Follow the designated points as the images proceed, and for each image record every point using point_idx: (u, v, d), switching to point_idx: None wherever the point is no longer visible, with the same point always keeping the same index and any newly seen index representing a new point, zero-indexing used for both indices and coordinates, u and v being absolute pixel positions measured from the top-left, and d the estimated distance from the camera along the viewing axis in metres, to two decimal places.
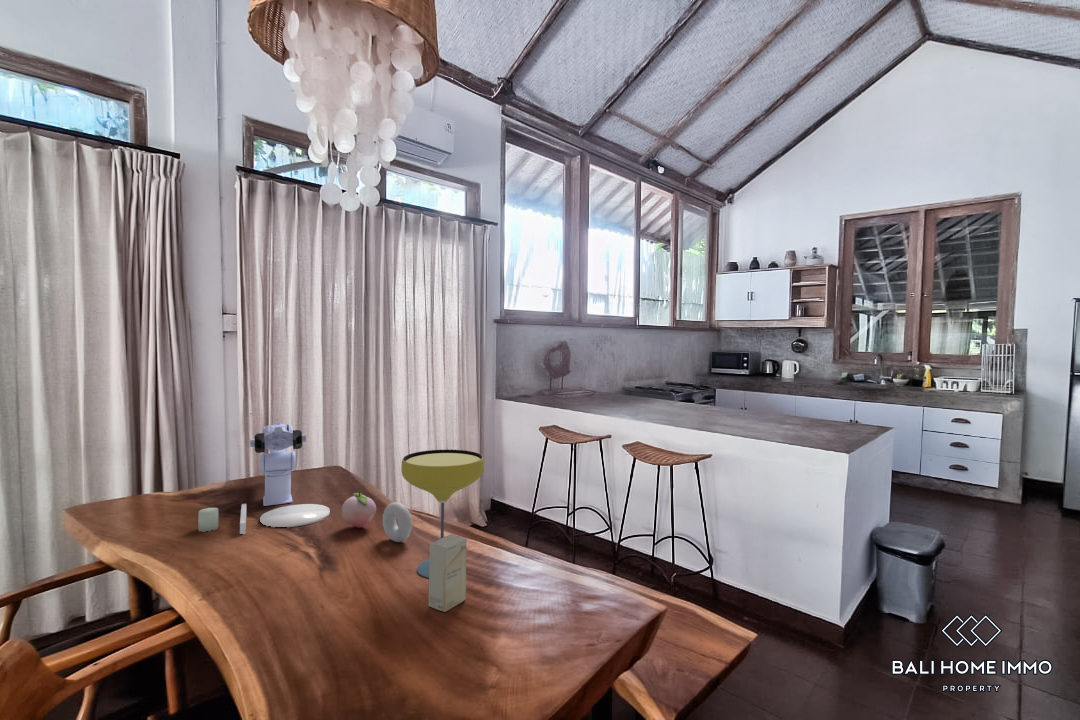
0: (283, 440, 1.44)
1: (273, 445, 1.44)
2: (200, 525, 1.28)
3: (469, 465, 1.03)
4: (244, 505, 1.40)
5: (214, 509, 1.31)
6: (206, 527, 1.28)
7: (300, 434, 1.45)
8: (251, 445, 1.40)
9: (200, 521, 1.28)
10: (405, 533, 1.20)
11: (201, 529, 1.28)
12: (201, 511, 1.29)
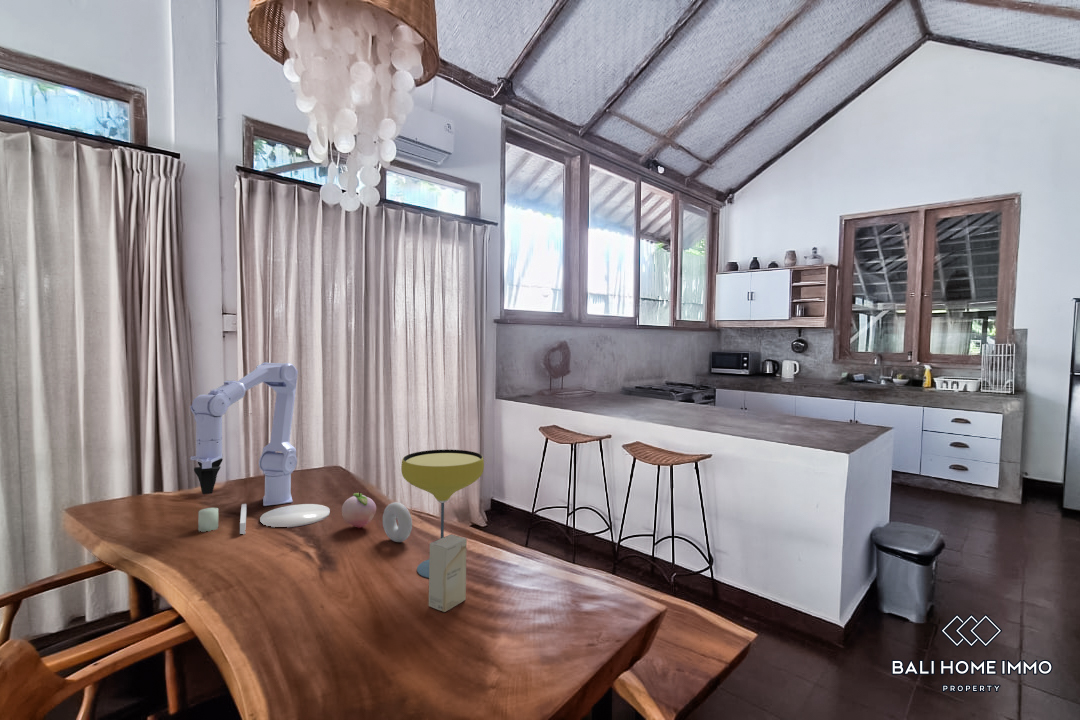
0: None
1: None
2: (200, 525, 1.28)
3: (469, 465, 1.03)
4: (244, 505, 1.40)
5: (214, 509, 1.31)
6: (206, 527, 1.28)
7: (199, 473, 1.24)
8: None
9: (200, 521, 1.28)
10: (405, 533, 1.20)
11: (201, 529, 1.28)
12: (201, 511, 1.29)
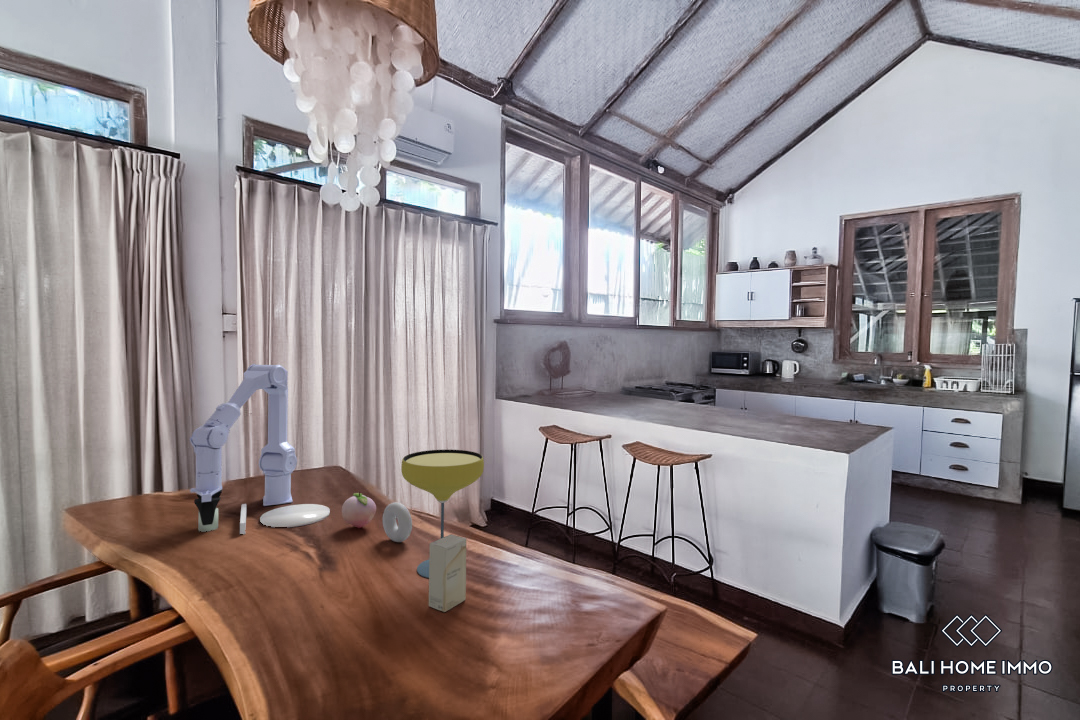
0: None
1: None
2: (200, 525, 1.28)
3: (469, 465, 1.03)
4: (244, 505, 1.40)
5: None
6: (206, 527, 1.28)
7: (199, 505, 1.25)
8: None
9: (200, 521, 1.28)
10: (405, 533, 1.20)
11: (201, 529, 1.28)
12: None
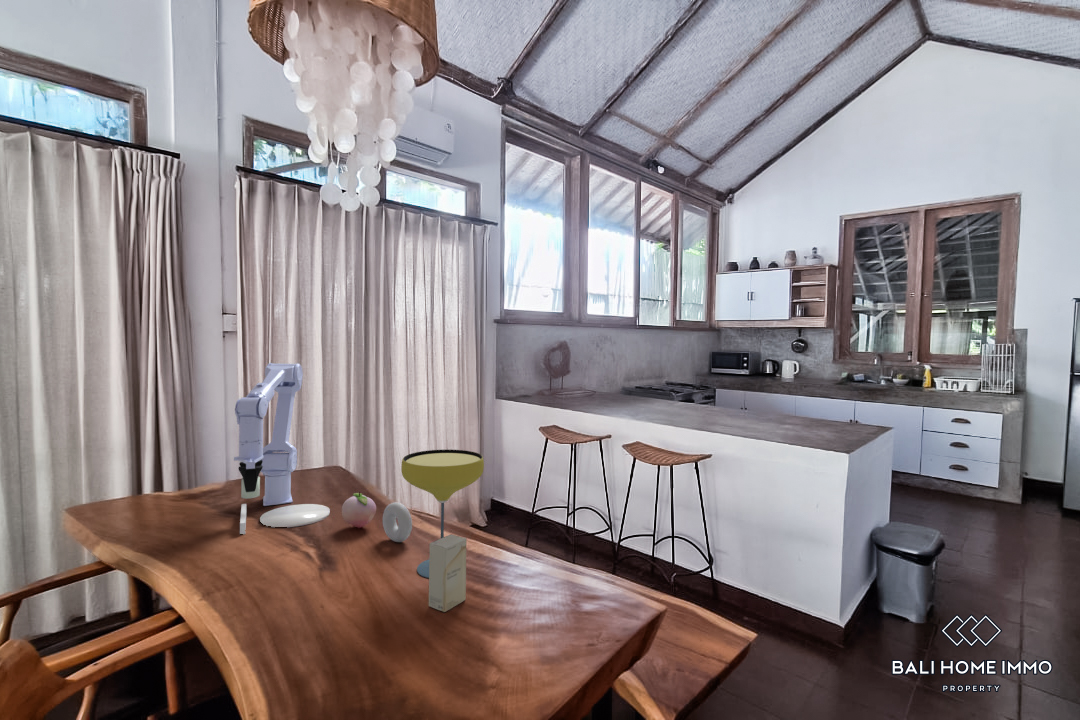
0: None
1: None
2: (243, 492, 1.33)
3: (469, 465, 1.03)
4: (244, 505, 1.40)
5: None
6: (249, 494, 1.33)
7: (243, 472, 1.30)
8: None
9: (243, 488, 1.33)
10: (405, 533, 1.20)
11: (244, 496, 1.33)
12: None
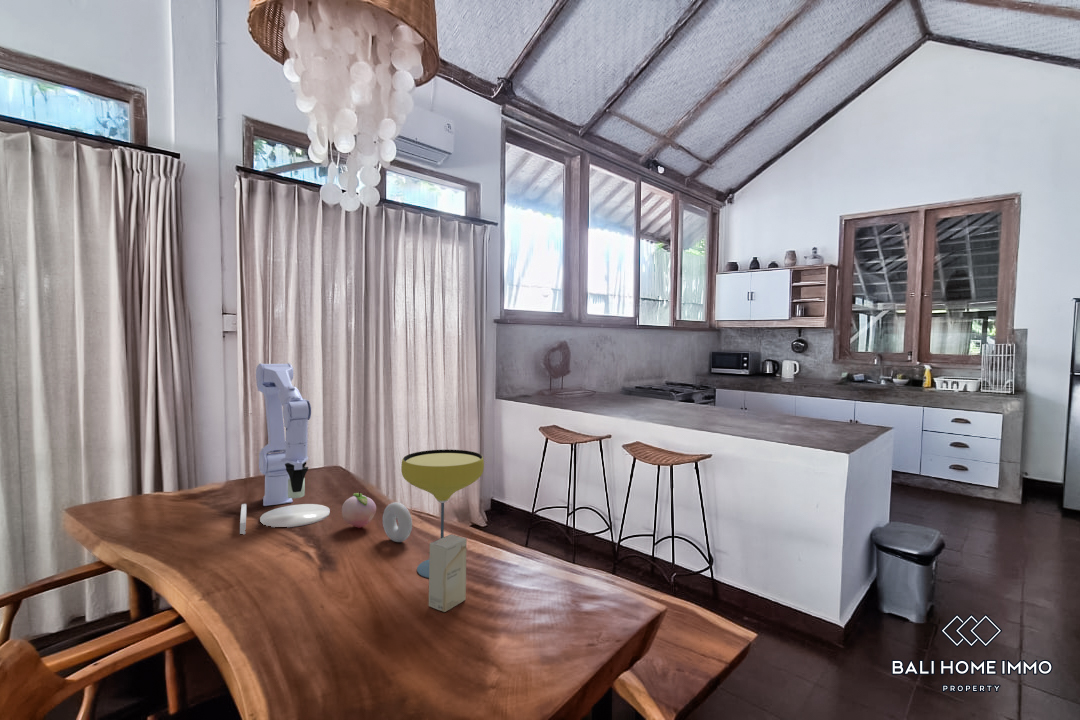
0: None
1: None
2: (290, 492, 1.38)
3: (469, 465, 1.03)
4: (244, 505, 1.40)
5: None
6: (295, 494, 1.39)
7: (291, 473, 1.36)
8: None
9: (290, 488, 1.38)
10: (405, 533, 1.20)
11: (291, 496, 1.38)
12: None
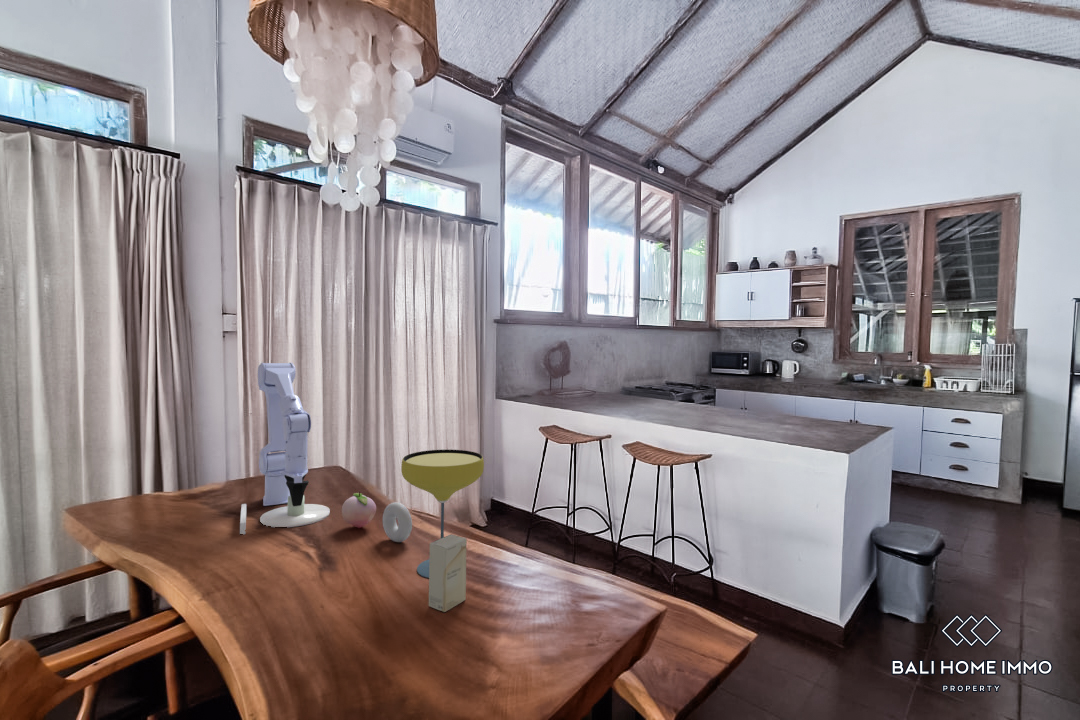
0: None
1: None
2: (289, 510, 1.39)
3: (469, 465, 1.03)
4: (244, 505, 1.40)
5: None
6: (295, 512, 1.39)
7: (291, 487, 1.35)
8: None
9: (289, 506, 1.39)
10: (405, 533, 1.20)
11: (290, 514, 1.39)
12: (290, 497, 1.40)
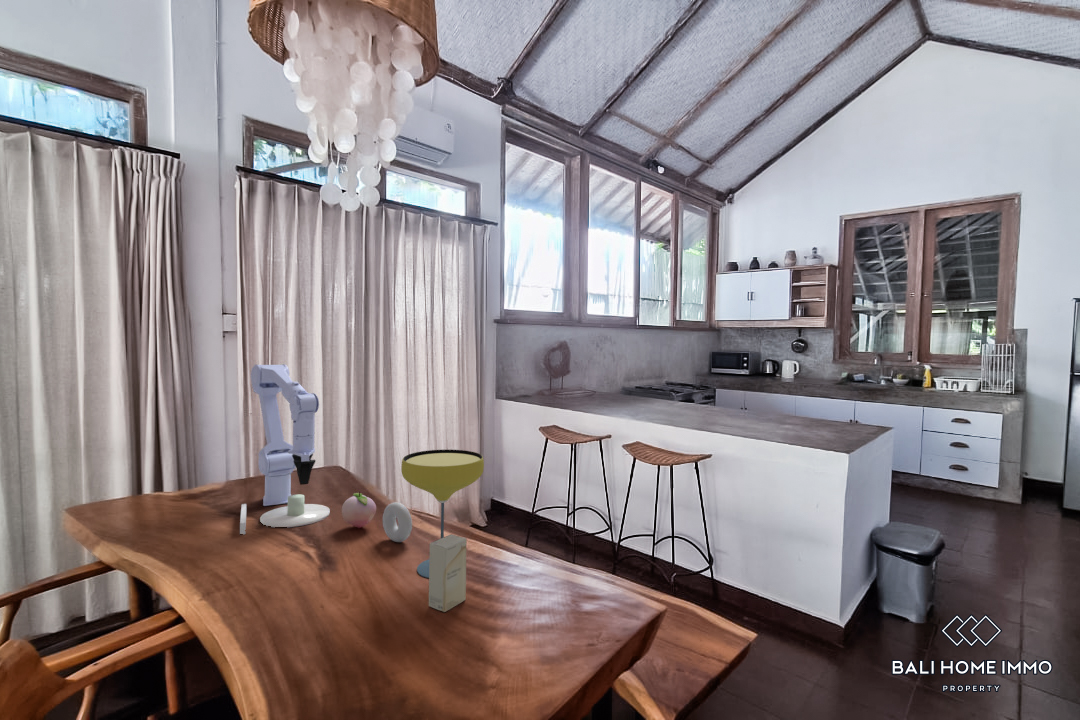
0: None
1: None
2: (289, 510, 1.39)
3: (469, 465, 1.03)
4: (244, 505, 1.40)
5: (301, 496, 1.41)
6: (295, 512, 1.39)
7: (298, 466, 1.37)
8: None
9: (289, 506, 1.39)
10: (405, 533, 1.20)
11: (290, 514, 1.39)
12: (290, 497, 1.40)
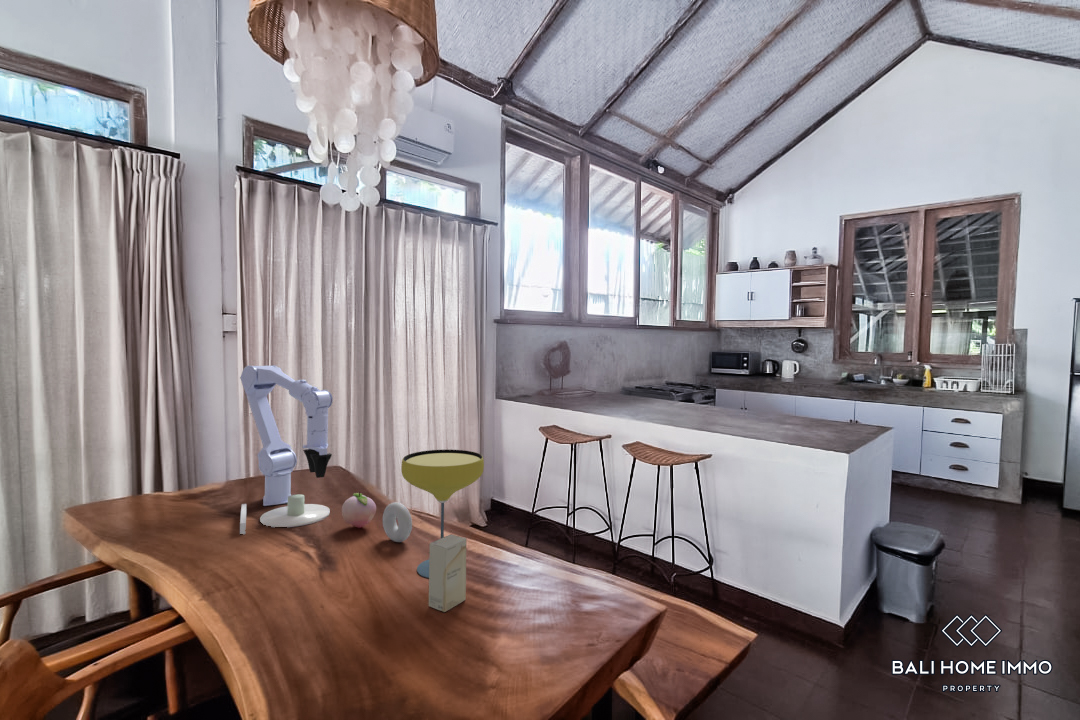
0: None
1: None
2: (289, 510, 1.39)
3: (469, 465, 1.03)
4: (244, 505, 1.40)
5: (301, 496, 1.41)
6: (295, 512, 1.39)
7: (316, 459, 1.42)
8: None
9: (289, 506, 1.39)
10: (405, 533, 1.20)
11: (290, 514, 1.39)
12: (290, 497, 1.40)
